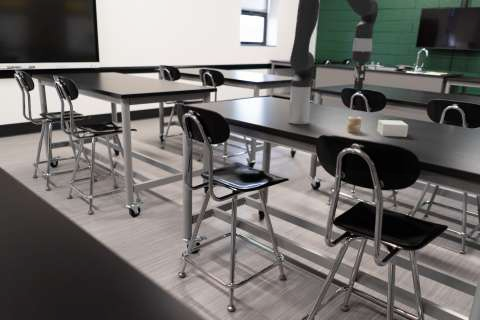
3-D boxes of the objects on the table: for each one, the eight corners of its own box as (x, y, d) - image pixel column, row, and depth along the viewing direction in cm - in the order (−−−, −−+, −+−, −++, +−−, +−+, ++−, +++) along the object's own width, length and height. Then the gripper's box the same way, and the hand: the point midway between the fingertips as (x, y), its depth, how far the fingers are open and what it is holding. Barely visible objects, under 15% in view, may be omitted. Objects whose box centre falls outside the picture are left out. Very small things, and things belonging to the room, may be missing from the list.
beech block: (348, 132, 173) (349, 118, 171) (346, 129, 178) (348, 116, 176) (360, 132, 172) (361, 119, 170) (358, 130, 177) (360, 117, 175)
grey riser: (382, 135, 168) (383, 124, 167) (377, 130, 178) (378, 119, 176) (406, 137, 167) (408, 125, 166) (400, 131, 177) (401, 120, 175)
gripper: (350, 49, 172) (347, 87, 177) (354, 50, 159) (350, 91, 163) (368, 50, 171) (364, 88, 176) (374, 50, 158) (369, 92, 162)
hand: (357, 89), depth 170 cm, fingers open, 8 cm apart
